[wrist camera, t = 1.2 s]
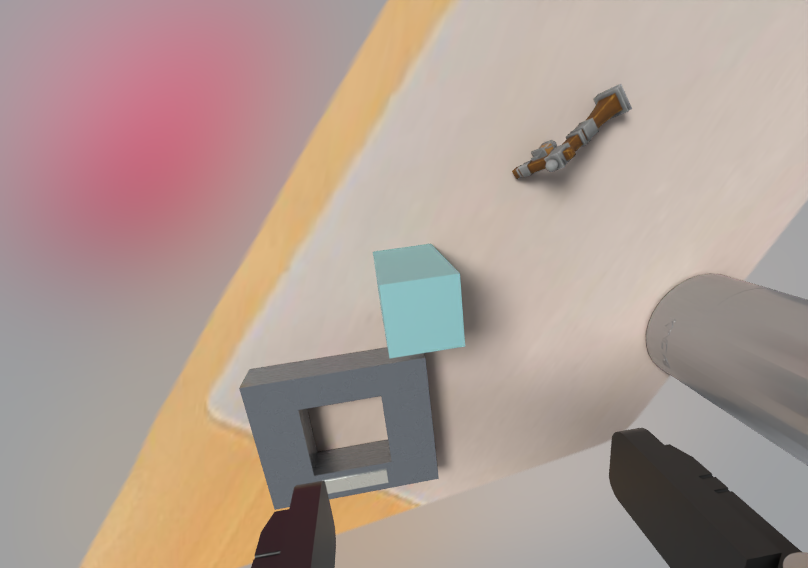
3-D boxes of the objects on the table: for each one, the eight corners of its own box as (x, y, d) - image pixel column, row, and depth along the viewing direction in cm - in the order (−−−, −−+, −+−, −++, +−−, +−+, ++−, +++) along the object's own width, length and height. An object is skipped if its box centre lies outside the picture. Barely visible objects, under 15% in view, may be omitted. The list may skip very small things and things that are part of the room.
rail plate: (419, 342, 29) (425, 358, 26) (432, 455, 32) (438, 479, 30) (249, 369, 28) (238, 388, 25) (281, 483, 31) (274, 510, 29)
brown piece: (499, 171, 25) (552, 151, 21) (564, 110, 28) (623, 81, 23) (512, 193, 26) (567, 178, 22) (575, 131, 28) (635, 107, 24)
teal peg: (430, 243, 27) (459, 273, 19) (435, 298, 28) (465, 346, 21) (372, 251, 26) (378, 285, 19) (380, 306, 28) (389, 358, 20)
